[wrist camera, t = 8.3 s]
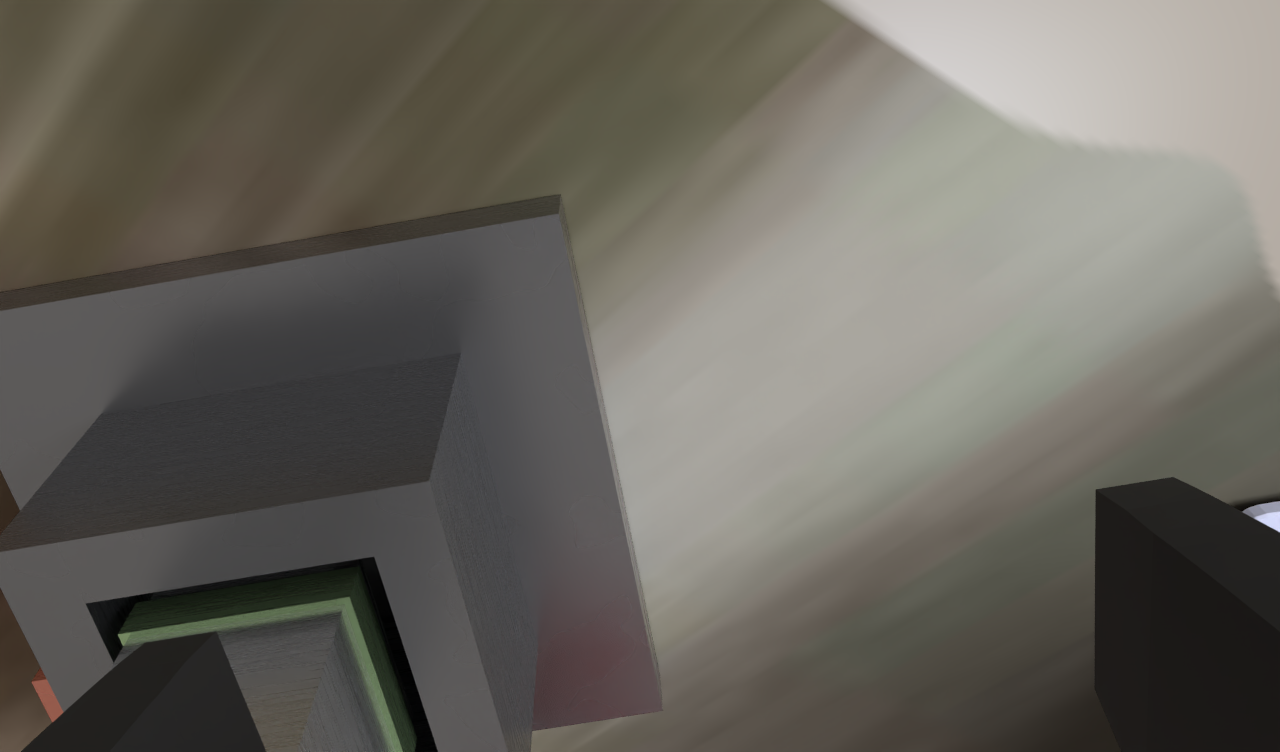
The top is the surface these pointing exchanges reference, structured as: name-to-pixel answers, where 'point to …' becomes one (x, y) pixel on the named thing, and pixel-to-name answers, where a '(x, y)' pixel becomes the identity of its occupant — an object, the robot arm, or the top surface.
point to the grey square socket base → (337, 461)
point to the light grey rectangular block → (295, 655)
